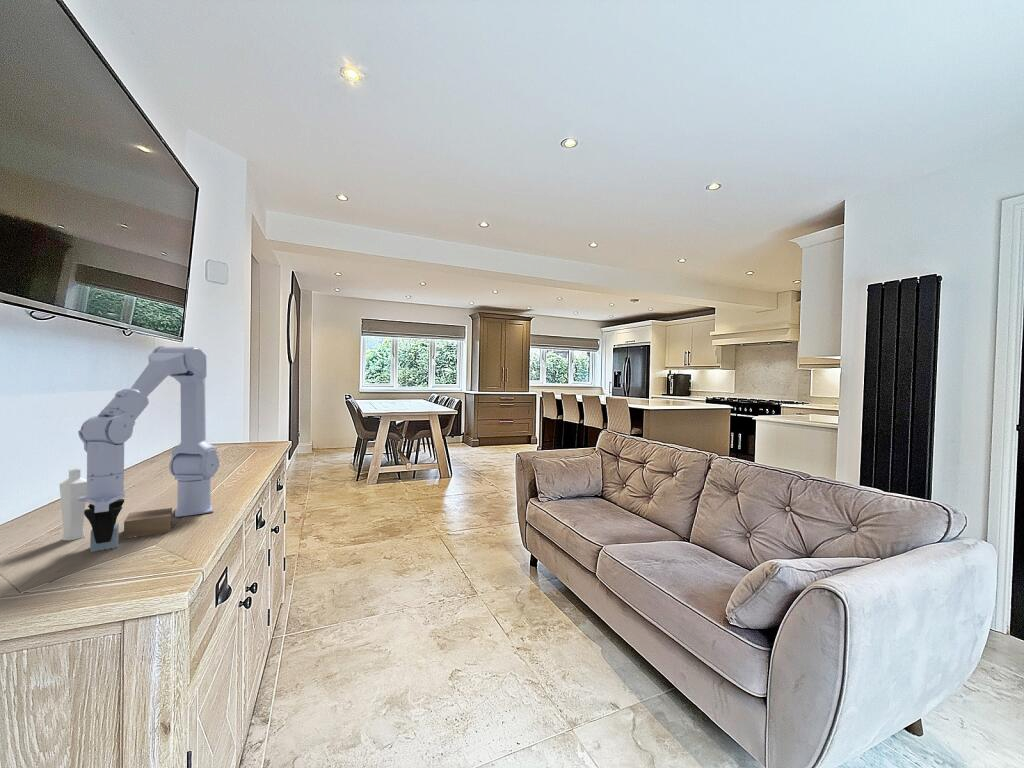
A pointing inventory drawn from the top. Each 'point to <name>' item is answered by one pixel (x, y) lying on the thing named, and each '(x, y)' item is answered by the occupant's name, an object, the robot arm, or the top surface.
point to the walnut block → (148, 522)
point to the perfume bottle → (73, 505)
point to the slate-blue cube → (106, 545)
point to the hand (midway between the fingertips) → (104, 539)
